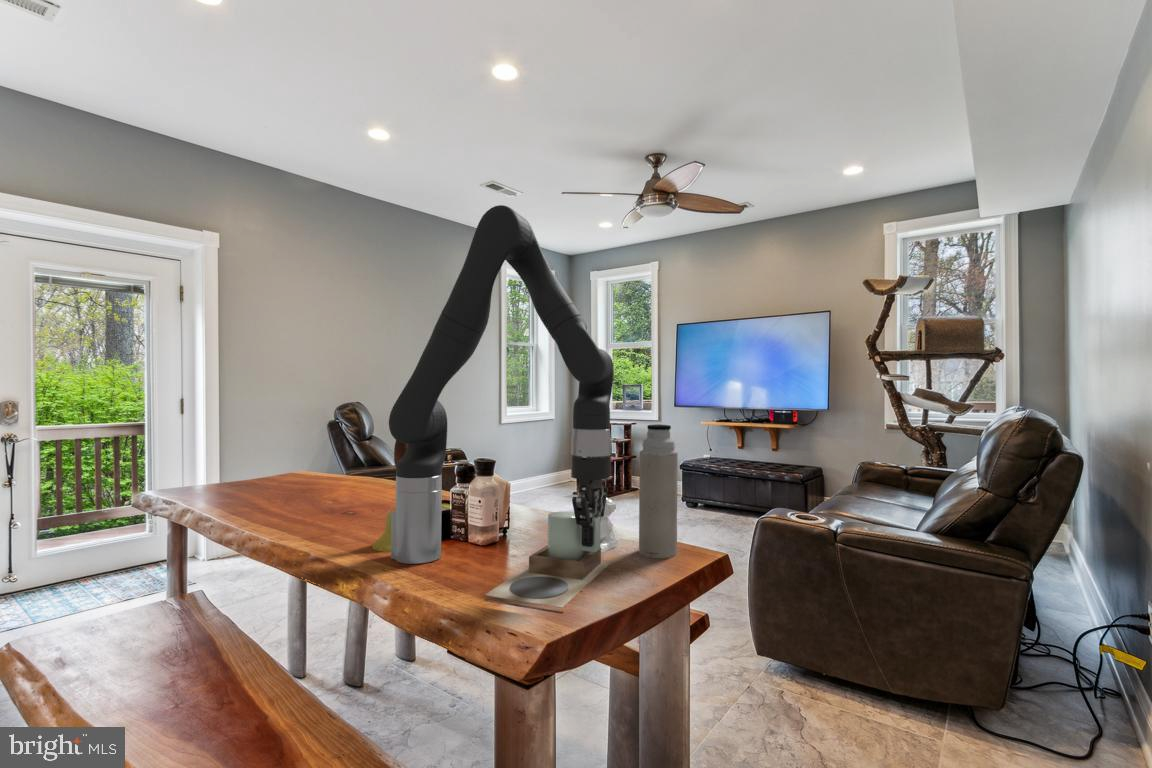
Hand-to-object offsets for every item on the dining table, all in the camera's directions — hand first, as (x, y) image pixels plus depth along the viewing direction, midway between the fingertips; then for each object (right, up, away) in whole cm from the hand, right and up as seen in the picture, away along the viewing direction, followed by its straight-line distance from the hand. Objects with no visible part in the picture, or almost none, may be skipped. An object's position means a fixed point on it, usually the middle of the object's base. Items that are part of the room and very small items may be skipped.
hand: (590, 543), depth 107 cm
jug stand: (-7, -6, -4) cm, 10 cm away
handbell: (-42, -6, +21) cm, 48 cm away
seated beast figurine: (+2, -7, +17) cm, 19 cm away
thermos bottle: (+15, -7, +12) cm, 20 cm away
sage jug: (-3, -5, +1) cm, 6 cm away
